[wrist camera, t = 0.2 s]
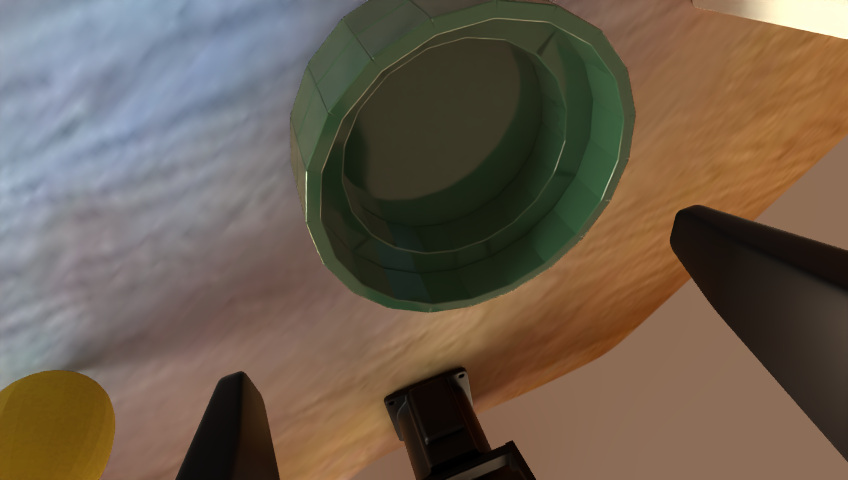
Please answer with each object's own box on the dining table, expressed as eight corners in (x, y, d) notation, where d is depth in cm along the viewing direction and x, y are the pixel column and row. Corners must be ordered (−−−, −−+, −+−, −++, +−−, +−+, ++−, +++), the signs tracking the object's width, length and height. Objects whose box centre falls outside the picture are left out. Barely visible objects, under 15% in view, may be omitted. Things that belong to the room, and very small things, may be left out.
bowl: (563, 199, 30) (615, 253, 26) (337, 278, 28) (358, 349, 24) (576, -71, 20) (661, -47, 17) (235, 20, 18) (241, 70, 15)
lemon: (69, 320, 24) (24, 478, 18) (147, 375, 28) (130, 520, 22) (-37, 370, 24) (-117, 547, 18) (56, 418, 28) (15, 577, 22)
